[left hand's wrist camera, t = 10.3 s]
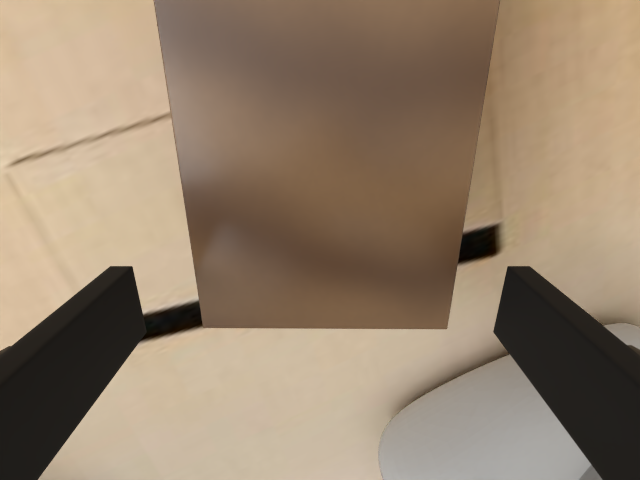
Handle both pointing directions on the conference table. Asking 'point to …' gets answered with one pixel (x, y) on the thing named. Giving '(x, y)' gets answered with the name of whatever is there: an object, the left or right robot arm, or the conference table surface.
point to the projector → (486, 430)
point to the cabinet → (326, 154)
